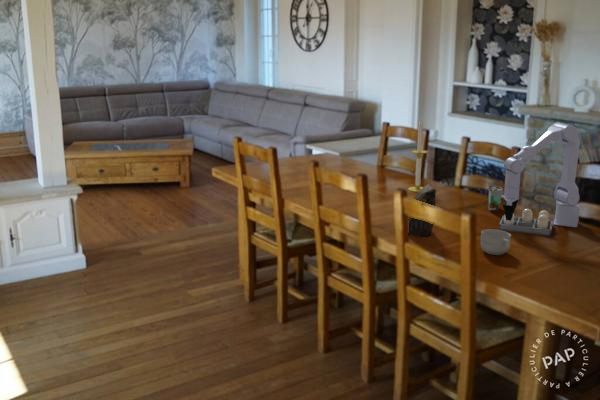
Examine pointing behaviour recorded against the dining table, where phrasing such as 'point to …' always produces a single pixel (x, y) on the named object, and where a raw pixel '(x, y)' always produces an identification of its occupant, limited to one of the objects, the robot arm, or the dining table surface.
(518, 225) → the carton
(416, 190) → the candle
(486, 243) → the teacup
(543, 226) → the seated eggs
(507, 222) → the white egg-shaped capsule
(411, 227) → the owl
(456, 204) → the dining table surface
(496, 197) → the food container
